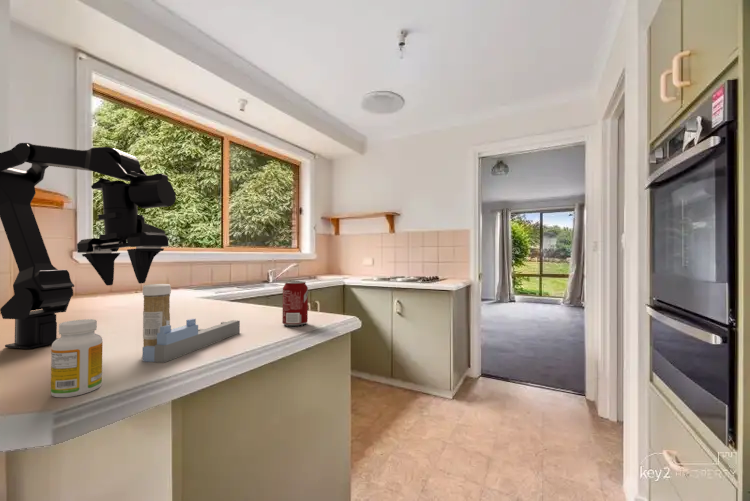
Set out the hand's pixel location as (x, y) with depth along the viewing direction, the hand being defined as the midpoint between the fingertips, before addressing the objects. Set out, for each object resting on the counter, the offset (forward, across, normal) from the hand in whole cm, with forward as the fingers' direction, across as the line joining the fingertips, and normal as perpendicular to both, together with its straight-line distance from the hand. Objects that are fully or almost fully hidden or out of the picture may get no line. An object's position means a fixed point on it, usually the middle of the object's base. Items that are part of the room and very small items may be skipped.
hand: (125, 284), depth 68 cm
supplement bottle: (+14, -15, +18) cm, 27 cm away
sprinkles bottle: (+14, -10, +2) cm, 17 cm away
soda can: (+16, -21, -30) cm, 40 cm away
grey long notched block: (+14, -12, -6) cm, 20 cm away
